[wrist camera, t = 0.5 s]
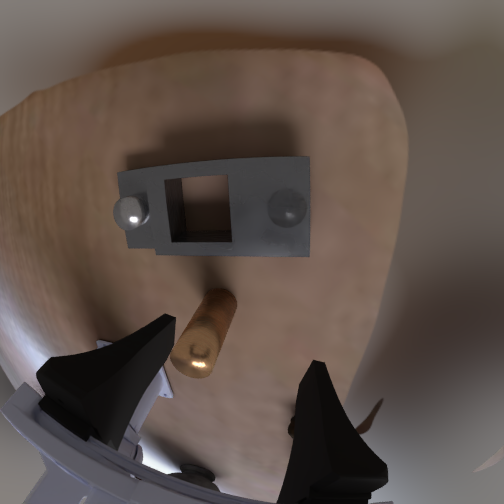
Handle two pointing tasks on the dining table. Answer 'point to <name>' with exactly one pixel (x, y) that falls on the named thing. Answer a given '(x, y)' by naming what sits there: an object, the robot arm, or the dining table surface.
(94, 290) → the dining table surface
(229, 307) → the copper pin
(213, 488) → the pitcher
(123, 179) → the grey plate with knobs
